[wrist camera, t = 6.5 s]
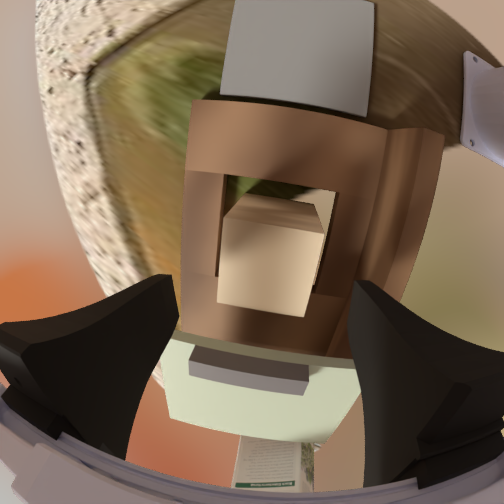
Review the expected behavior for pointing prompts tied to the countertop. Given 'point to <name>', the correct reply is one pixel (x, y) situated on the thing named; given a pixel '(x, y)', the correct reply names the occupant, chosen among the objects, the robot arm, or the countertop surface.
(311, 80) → the mat
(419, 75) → the countertop surface
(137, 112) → the countertop surface
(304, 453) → the syrup box
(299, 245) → the block
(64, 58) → the countertop surface
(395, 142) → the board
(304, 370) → the cover
